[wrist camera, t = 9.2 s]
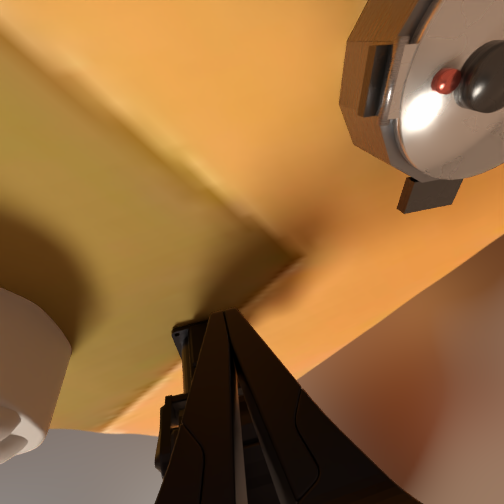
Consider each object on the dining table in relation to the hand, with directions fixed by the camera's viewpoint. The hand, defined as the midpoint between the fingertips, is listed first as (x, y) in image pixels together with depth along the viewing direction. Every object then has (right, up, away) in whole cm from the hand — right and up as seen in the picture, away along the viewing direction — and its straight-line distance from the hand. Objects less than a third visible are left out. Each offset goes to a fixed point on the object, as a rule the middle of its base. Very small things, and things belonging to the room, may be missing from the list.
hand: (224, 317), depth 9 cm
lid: (+13, +11, +5) cm, 18 cm away
